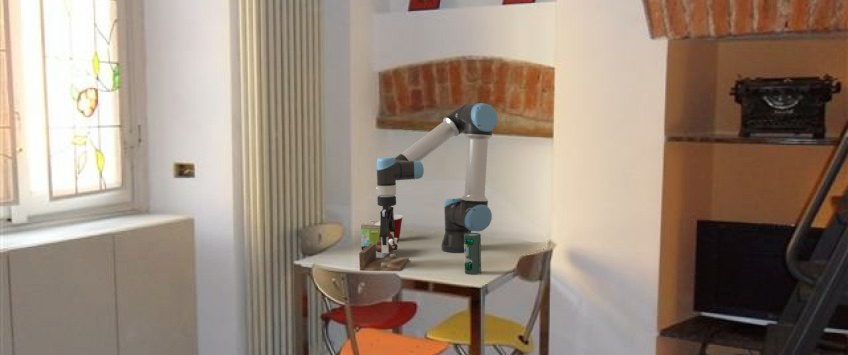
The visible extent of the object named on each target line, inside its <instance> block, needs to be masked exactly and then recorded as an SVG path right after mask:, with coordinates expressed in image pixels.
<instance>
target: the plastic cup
mask: <svg viewBox="0 0 848 355" xmlns="http://www.w3.org/2000/svg"><path fill="white" fill-rule="evenodd" d="M403 218H404V215H403V214H402V215H401V214H394V226H395V229H396V231H395V232H394V238H397V239H398V242H399V241H400V235H401V227H402V223H403V222H402V221H403Z"/></svg>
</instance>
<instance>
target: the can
mask: <svg viewBox="0 0 848 355" xmlns="http://www.w3.org/2000/svg"><path fill="white" fill-rule="evenodd" d="M481 235H482V234H481V233H479V232H471V233H466V234H464V252H463V253H464V273H465V275H480V274H482V247H481V246H482V242H481V241H482V238H481V237H482V236H481Z"/></svg>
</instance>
